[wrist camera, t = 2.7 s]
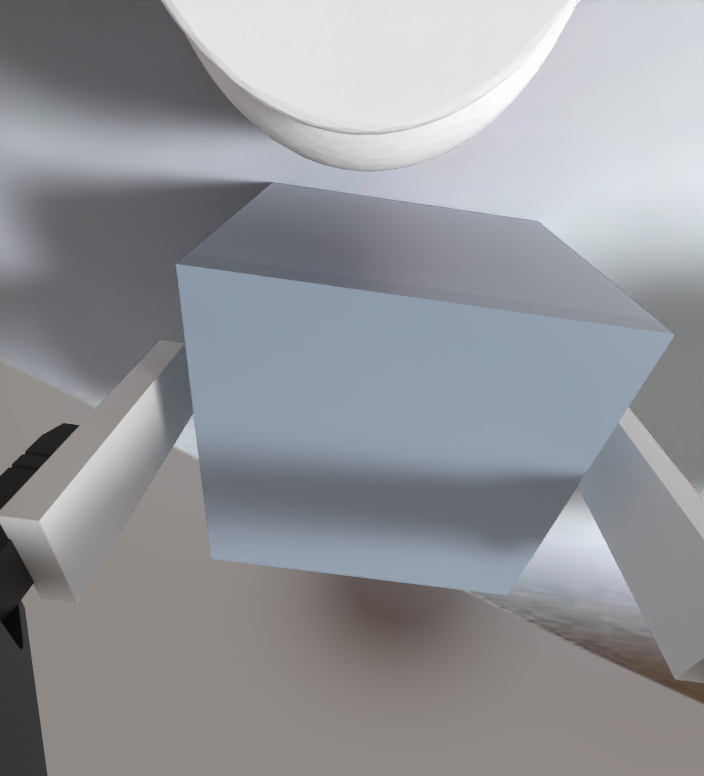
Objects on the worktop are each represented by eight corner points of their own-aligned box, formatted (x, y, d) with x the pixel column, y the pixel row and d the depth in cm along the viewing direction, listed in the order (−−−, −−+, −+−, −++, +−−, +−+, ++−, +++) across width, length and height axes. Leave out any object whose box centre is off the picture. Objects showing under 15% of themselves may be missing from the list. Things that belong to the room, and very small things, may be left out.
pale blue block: (269, 397, 20) (210, 558, 13) (272, 182, 15) (176, 264, 8) (464, 424, 21) (507, 595, 14) (538, 221, 15) (675, 334, 8)
